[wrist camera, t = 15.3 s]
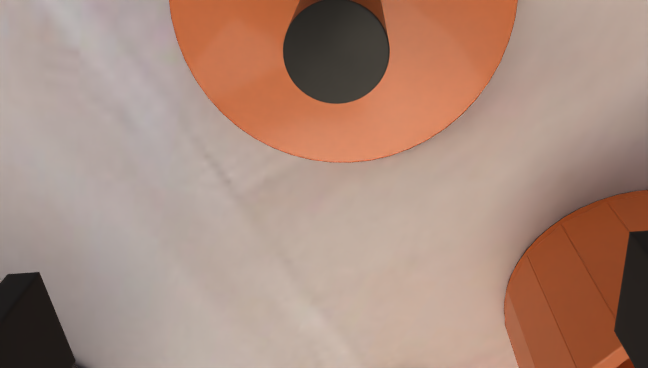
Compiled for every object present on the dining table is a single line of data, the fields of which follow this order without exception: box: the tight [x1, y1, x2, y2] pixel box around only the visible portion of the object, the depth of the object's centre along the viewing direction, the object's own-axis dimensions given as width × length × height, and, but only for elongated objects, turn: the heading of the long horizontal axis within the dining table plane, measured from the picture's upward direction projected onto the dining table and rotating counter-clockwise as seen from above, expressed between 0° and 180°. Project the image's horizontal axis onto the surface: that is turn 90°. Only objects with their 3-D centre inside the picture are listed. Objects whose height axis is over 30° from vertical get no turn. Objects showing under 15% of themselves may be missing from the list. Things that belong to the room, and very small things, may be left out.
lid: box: [169, 0, 518, 162], centre depth 24 cm, size 16×16×9 cm
